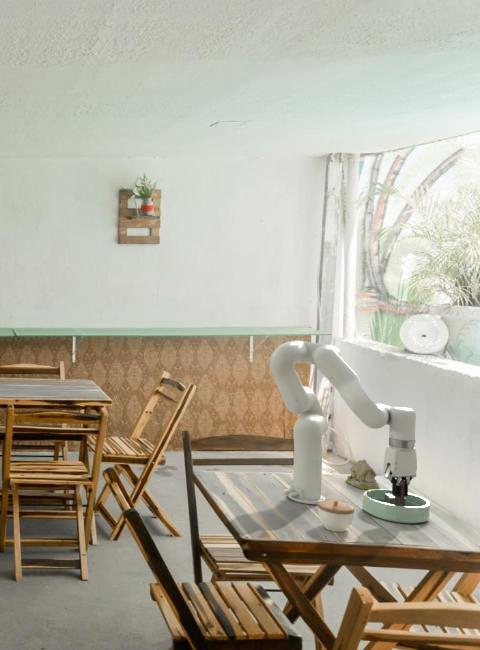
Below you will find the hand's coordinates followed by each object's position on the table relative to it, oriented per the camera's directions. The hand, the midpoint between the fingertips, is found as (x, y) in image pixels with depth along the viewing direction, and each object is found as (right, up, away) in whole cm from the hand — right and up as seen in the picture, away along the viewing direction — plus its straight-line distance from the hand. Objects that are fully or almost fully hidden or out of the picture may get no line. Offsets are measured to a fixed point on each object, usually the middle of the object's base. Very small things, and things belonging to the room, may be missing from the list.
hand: (399, 495), depth 234 cm
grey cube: (+2, -7, +6) cm, 10 cm away
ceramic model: (+10, -6, +38) cm, 39 cm away
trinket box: (-28, -9, -10) cm, 31 cm away
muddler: (0, -6, 0) cm, 6 cm away
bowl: (+1, -8, +3) cm, 9 cm away
